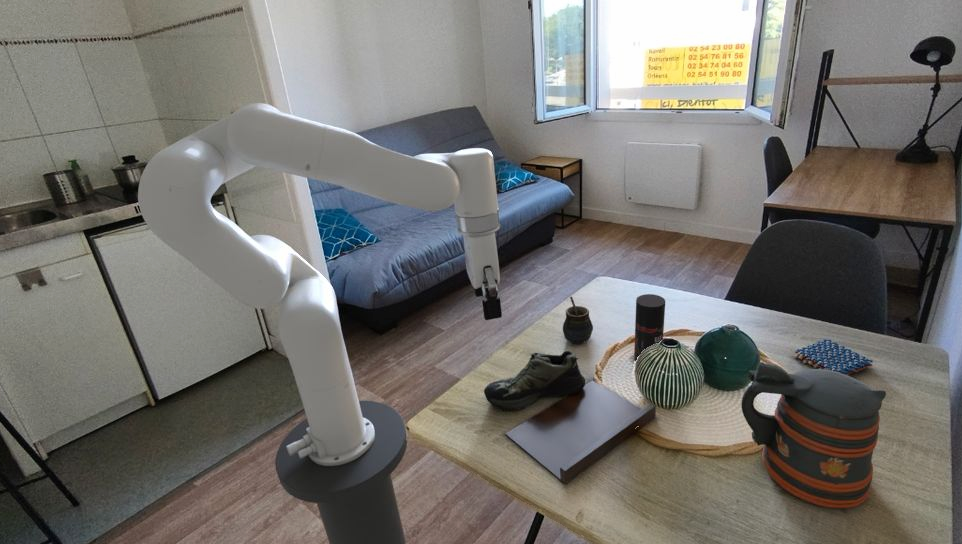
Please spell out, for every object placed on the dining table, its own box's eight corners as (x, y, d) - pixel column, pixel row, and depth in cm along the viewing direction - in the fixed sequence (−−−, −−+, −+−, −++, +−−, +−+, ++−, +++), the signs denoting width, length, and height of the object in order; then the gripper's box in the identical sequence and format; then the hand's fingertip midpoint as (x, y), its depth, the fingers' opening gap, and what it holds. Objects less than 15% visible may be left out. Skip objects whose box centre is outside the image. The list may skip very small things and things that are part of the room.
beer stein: (745, 501, 78) (762, 397, 69) (725, 434, 90) (738, 340, 82) (887, 516, 73) (923, 406, 65) (845, 444, 86) (871, 345, 78)
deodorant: (652, 370, 110) (655, 309, 104) (628, 360, 114) (630, 301, 108) (666, 358, 113) (670, 299, 107) (643, 348, 117) (645, 291, 111)
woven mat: (825, 343, 113) (827, 336, 112) (873, 368, 104) (876, 359, 103) (790, 356, 110) (792, 348, 109) (837, 382, 101) (839, 374, 100)
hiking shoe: (481, 393, 108) (476, 356, 104) (573, 370, 112) (572, 334, 108) (491, 418, 100) (485, 379, 96) (590, 392, 104) (588, 354, 100)
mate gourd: (573, 350, 119) (572, 313, 115) (556, 336, 126) (555, 301, 122) (598, 342, 122) (598, 305, 118) (580, 328, 128) (580, 293, 124)
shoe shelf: (565, 484, 84) (565, 471, 82) (505, 434, 96) (504, 422, 94) (655, 418, 96) (656, 405, 95) (592, 381, 108) (592, 369, 107)
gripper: (451, 210, 96) (462, 290, 103) (464, 240, 80) (476, 332, 87) (489, 204, 97) (497, 284, 104) (509, 233, 81) (518, 324, 88)
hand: (488, 306), depth 96 cm, fingers open, 9 cm apart
